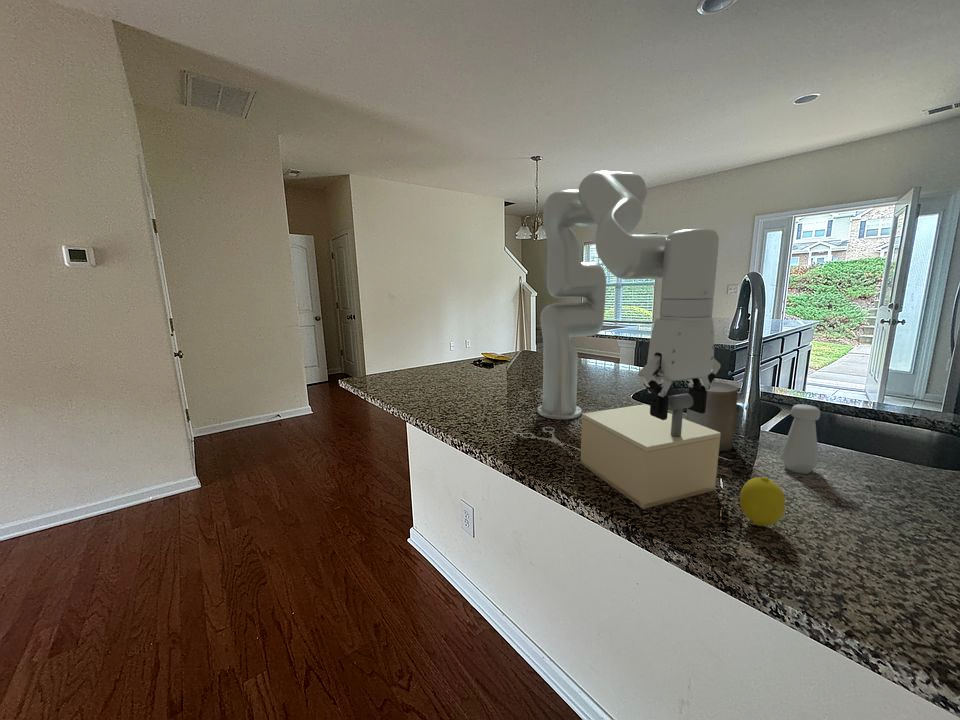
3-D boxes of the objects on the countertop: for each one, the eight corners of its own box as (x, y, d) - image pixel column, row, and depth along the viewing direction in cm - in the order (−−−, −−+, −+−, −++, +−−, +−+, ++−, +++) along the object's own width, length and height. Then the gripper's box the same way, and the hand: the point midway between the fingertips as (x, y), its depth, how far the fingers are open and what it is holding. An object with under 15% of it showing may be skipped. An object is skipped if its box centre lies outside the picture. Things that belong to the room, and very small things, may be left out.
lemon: (766, 541, 56) (773, 490, 54) (729, 520, 61) (734, 473, 59) (790, 530, 58) (797, 481, 57) (751, 511, 63) (757, 465, 62)
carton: (580, 463, 81) (581, 417, 79) (642, 451, 86) (644, 408, 85) (643, 508, 64) (646, 452, 63) (714, 490, 70) (720, 437, 68)
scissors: (544, 424, 104) (603, 449, 87) (544, 427, 104) (603, 452, 87) (512, 432, 98) (568, 461, 81) (512, 435, 98) (568, 464, 82)
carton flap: (581, 417, 79) (583, 379, 78) (644, 407, 84) (647, 371, 83) (646, 451, 63) (649, 404, 61) (720, 437, 68) (724, 392, 66)
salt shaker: (782, 459, 81) (790, 399, 79) (818, 468, 77) (827, 405, 74) (776, 469, 77) (785, 406, 75) (814, 479, 73) (824, 412, 70)
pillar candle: (734, 440, 91) (740, 378, 88) (731, 455, 83) (737, 387, 81) (687, 432, 97) (692, 373, 94) (680, 446, 89) (685, 382, 86)
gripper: (705, 307, 69) (697, 402, 73) (625, 311, 63) (620, 414, 67) (746, 309, 62) (735, 414, 66) (660, 313, 57) (653, 428, 60)
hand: (677, 413), depth 66 cm, fingers open, 7 cm apart
